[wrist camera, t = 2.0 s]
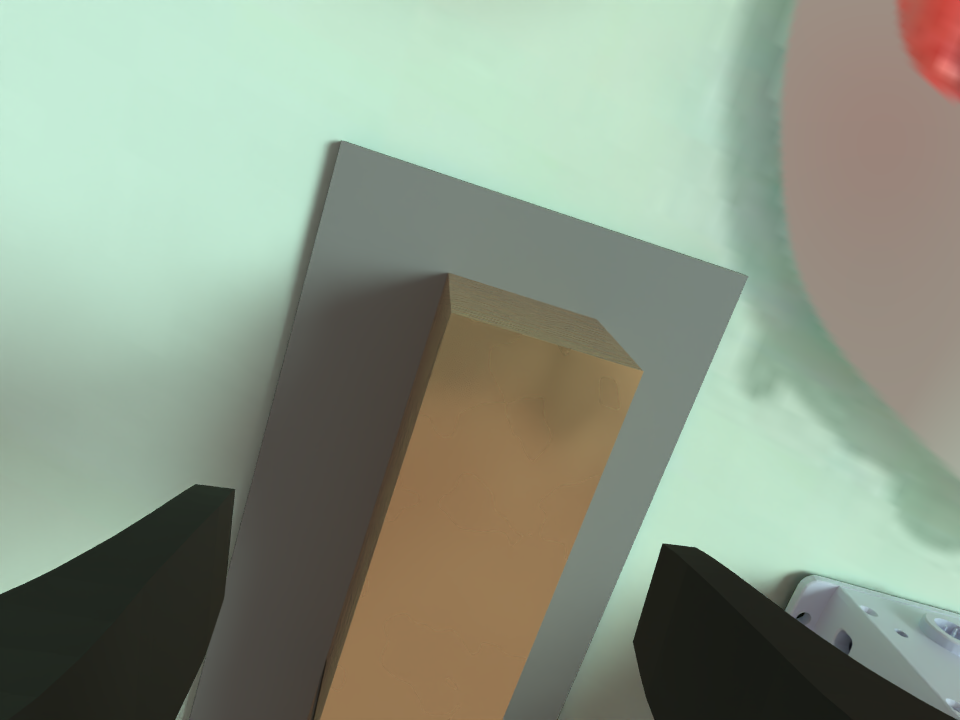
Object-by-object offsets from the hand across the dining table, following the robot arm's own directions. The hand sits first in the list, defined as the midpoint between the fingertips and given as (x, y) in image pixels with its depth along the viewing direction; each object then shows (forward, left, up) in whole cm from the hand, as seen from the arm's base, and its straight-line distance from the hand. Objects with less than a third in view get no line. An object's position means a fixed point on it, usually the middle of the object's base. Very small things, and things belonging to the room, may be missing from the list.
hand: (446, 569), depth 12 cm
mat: (+13, +1, -10) cm, 17 cm away
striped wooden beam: (+7, +1, -10) cm, 12 cm away
